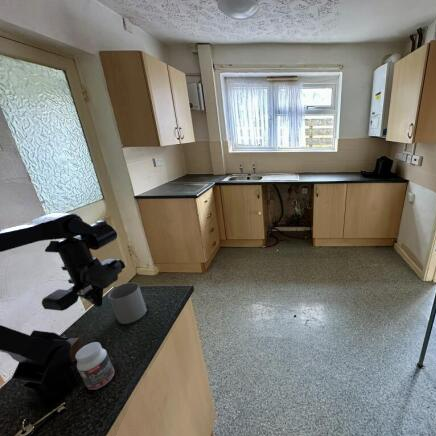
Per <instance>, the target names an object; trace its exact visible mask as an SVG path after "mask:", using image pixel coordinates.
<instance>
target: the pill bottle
mask: <svg viewBox="0 0 436 436" xmlns="http://www.w3.org/2000/svg"><path fill="white" fill-rule="evenodd" d="M75 357H76V360H75V361H76V362H77V363H76V369H77V371H78V372H79V375H80V376H81V378H82V381H83V382H84V385H85V386H86V389H88V390H93V391H94V390H98V389H100V388H102V387H104V386H105V385H107V384H108V383H110V381H111V380H112V379H113V377H114V375H115V368H114V365H113V364H112V361H111V358H110V357H109V354H108V352H107V350H106V349H104V348H103V347H102V345H101V343H100V342H98V341H94V342H89V343H88V344H86V345H83V347H82V348H81V349H80V350H79V351H78V352H77V353H76V356H75Z"/></svg>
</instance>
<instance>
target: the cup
mask: <svg viewBox="0 0 436 436" xmlns="http://www.w3.org/2000/svg"><path fill="white" fill-rule="evenodd" d="M141 291H142V290H141V288H140V285H139V283H138V282H133V281H132V282H127V283H122V284H120V285H117V286H116V287H114V288H113V289H112V290H110V291H109V293H108V294H107V296H108V300H109V302H110V304H111V305H110V306H111V307H112V309H113V312H114V314H115V316H116V319H117V322H118V323H119V324H121V325H128V324H131V323H135V322H136V321H138V320H140V319H141V318H143V317H144V316H145V315H146V313H147V311H148V309H147V305H146V303H145V300H144V297H143V295H142V292H141Z"/></svg>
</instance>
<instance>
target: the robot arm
mask: <svg viewBox="0 0 436 436" xmlns="http://www.w3.org/2000/svg"><path fill="white" fill-rule="evenodd" d="M117 238H118V232H117V230H115V228H114V227H113V226H112V225H110V224H108V222H107V221H106V220H98V221H95V222H94V223H92V224H89V223H87V222H85V221H84V220H83V218H82V217H81V216H80V215H78V214H76V213H55V212H54V213H47V214H45V215H42V216H39V217H36V218H34V219H32V220H31V221H29V222H28V223H24V224H21V225H18V226H12V227H8V228H4V229H0V253H2V252H6V251H9V250H13V249H17V248H20V247H24V246H27V245H30V244H34V243H37V242H43V241H49V243H48V245H47V246H46V248H45V249H44V252H45V253H54V254H55V253H58V255H59V257H60V259H61V262H62V263H63V265H62V266H61V267H60V268H61V269H62V271H67V274H68V275H69V277H70V278H69V279H67V282H68V284H73V286H71V287H69V288H68V289H60V288H59V289H56V290H54V291H53V292H51V293H49V294H48V295H47V296H44V297H43V298H42V300H41V305H42V308H43V309H44V310H50V311H58V312H59V311H61V312H63V311H65V310H68V309H69V308H70V307H72V306H73V305H75V304H76V303H78V301H79V298H82V299H84V300H85V301H87V302H88V303H90V304H92V305H93V306H95V307H97V308H100V307H101V306H102V305H103V299H104V290H105V289H108V288H109V287H110V286H111V285H112V284H113V283H115V282H117V281H118V279H119V274H120V273H122V272H123V270H124V269H125V268H126V264H125V261H123V260H122V259H120V258H119V259H118V258H116V259H115V258H106V259H105V260H103V261H100V259H99V258H98V257H94V256H93V254H92V251H91V250H94V251H97V250H99V249H101V248H103V247H105V246H107V245H109V244H110V243H112V242H114V241H116V239H117ZM67 339H70V338H69V337H68V336H67V337H66V336H61V335H59V334H58V333H55V331H54V332H53V331H45V330H36V329H33V330H32V332H31V333H30V334H27V333H25V332H21V331H18V330H16V329H14V328H10V327H7V326H4V325H1V324H0V352H1V353H5V354H7V355H9V356H10V357H11V358H12V360H14V361H15V362H18V363H17V366H16V368H15V369H14V372H13V373H12V376H11V379H12V380H14V381H17V382H23V383H25V384H23V387H24V388H25V390H26V392H27V393H28V394H29V396H30V398H31V399H30V400H29V402H30V403H31V404H33V405H35V406H39V407H42V408H45V409H48V410H50V409H52V408H53V407H54V406H55V405H57V403H58V402H59V401H60V400H62V399H63V398H64V397H65V396H66V395H67V394H68V393H69V392H70V391H72V390H73V388H74V387H75V386H77V384H78V383H79V382H80V380H79V379H78V378H75V377H76V375H75V373H74V372H73V371H74V370H73V369H72V368H71V363H70V350H71V343H70V342H68V341H66V340H67Z"/></svg>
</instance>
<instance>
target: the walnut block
mask: <svg viewBox="0 0 436 436" xmlns="http://www.w3.org/2000/svg"><path fill="white" fill-rule="evenodd" d="M66 341H68V342H70V343H71V350H70V364H74V363H75V362H76V361H77V360H76V357H75V356H76V353H77V352H78V351H79V350H80V349H81V348H82V347H84V345H83V342H82V341H81V339H80V337H74V338H69V339H67V340H66Z"/></svg>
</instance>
